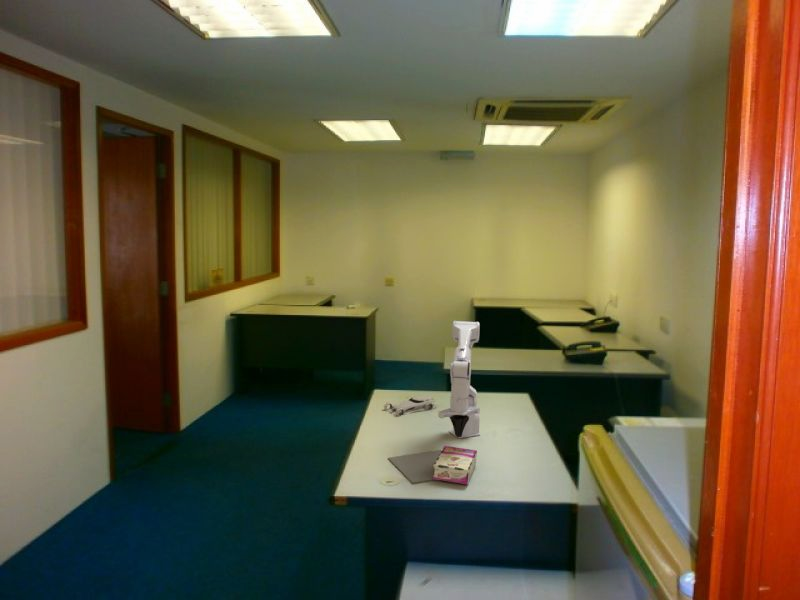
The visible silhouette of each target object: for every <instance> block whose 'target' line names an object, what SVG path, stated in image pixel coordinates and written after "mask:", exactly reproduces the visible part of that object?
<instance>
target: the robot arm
mask: <svg viewBox="0 0 800 600" xmlns="http://www.w3.org/2000/svg"><path fill="white" fill-rule="evenodd" d="M480 326H481V325H480V322H479V321H464V320H463V321H462V320H453V322H452V328H451V331H452V332H451V336H452V339H453V341H454V342H457V343H458V345H457V347H455V349H454V351H453V360H452V362H451V364H450V369H449V370H450V371H449V372H450V373H449V374H450V375H449V376H450V384H451V388H450V391H451V392H450V402H449V403H450V404H449V405H450V407H449V408H446V409H443V410H438V414H437V415H438V416H437V418H440V419H444V418H448V417H449V420H450V422H451V424H452V429H449V430H448V432H449V433H451V435H453V436H454V437H456V438H457V439H463V438H470V437H477V436H480V435H481V433H480V421H481V420H480V411H481V410H480V407H478V405H477V403H478V396H477V393H478V392H477V390H476V389H475V388H474V387H473V386H472V385H471V374H472V348H473V345H474V344H476V343H479V341H480Z"/></svg>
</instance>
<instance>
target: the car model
mask: <svg viewBox="0 0 800 600" xmlns="http://www.w3.org/2000/svg"><path fill="white" fill-rule="evenodd" d="M436 401H437V398H435V397H433V396H426V395H417V396H413V397H411V398H409V399H407V400H403V401H400V402H398V403H396V404H395V405H393V403H392V402H388V401H387V402H386V403H385V404H384V405H383V408H384V410H385V413H387V412H389V413H388V414H390V415H391V414H393V415H392V416H394V415H396V416H395V417H402V416H401V415H403V416H405V414H406V415H408V414H407V413H409V414H412V413H413V412H414V413H418V412H419V413H420V412H429V411H433V410H434V409H436V408H437V405H435V404H433V403H434V402H436ZM388 406H389V408H388Z"/></svg>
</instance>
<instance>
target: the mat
mask: <svg viewBox="0 0 800 600" xmlns="http://www.w3.org/2000/svg"><path fill="white" fill-rule="evenodd" d="M442 450H443V449H436V450H431V451H430V450H429V451H423V452H417V453H415V452H414V453H411V454H405V455H404V454H403V455H398V456H392V457H391V456H390V457H387V460H388V461H389V460H390V461H391V462H392V463H391V462H390V461H389V462H390V463H391V464H392V465H393V466H394V465H395V466H394V467H395V468H396V469H397V470H398V471H399V472H400V473H401V474H402V475H403V476H404V477H405V478H406V479H407V480H408V481H409V483H410V484H412V485H416V484H421V483H427V482H433V481H438V480H437V479H433V470H434V463H435V462H436V460H437V458H438V456H439V455H440V453H441V451H442Z"/></svg>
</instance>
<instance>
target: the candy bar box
mask: <svg viewBox="0 0 800 600" xmlns="http://www.w3.org/2000/svg"><path fill="white" fill-rule="evenodd" d="M441 450H442V451H441V453H440V455H439V456H438V458H437V460H436V462H435V463H434V470H433V479H437V480H436V481H444V482H452V483H457V484H463V485H468V484H469V482H470V479H471V477H472V474H473V472H474V470H475V468H476V464H477V453H478V450H475V449H469V448H463V447H455V446H448V445H444V446H443V447H442V449H441Z"/></svg>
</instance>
